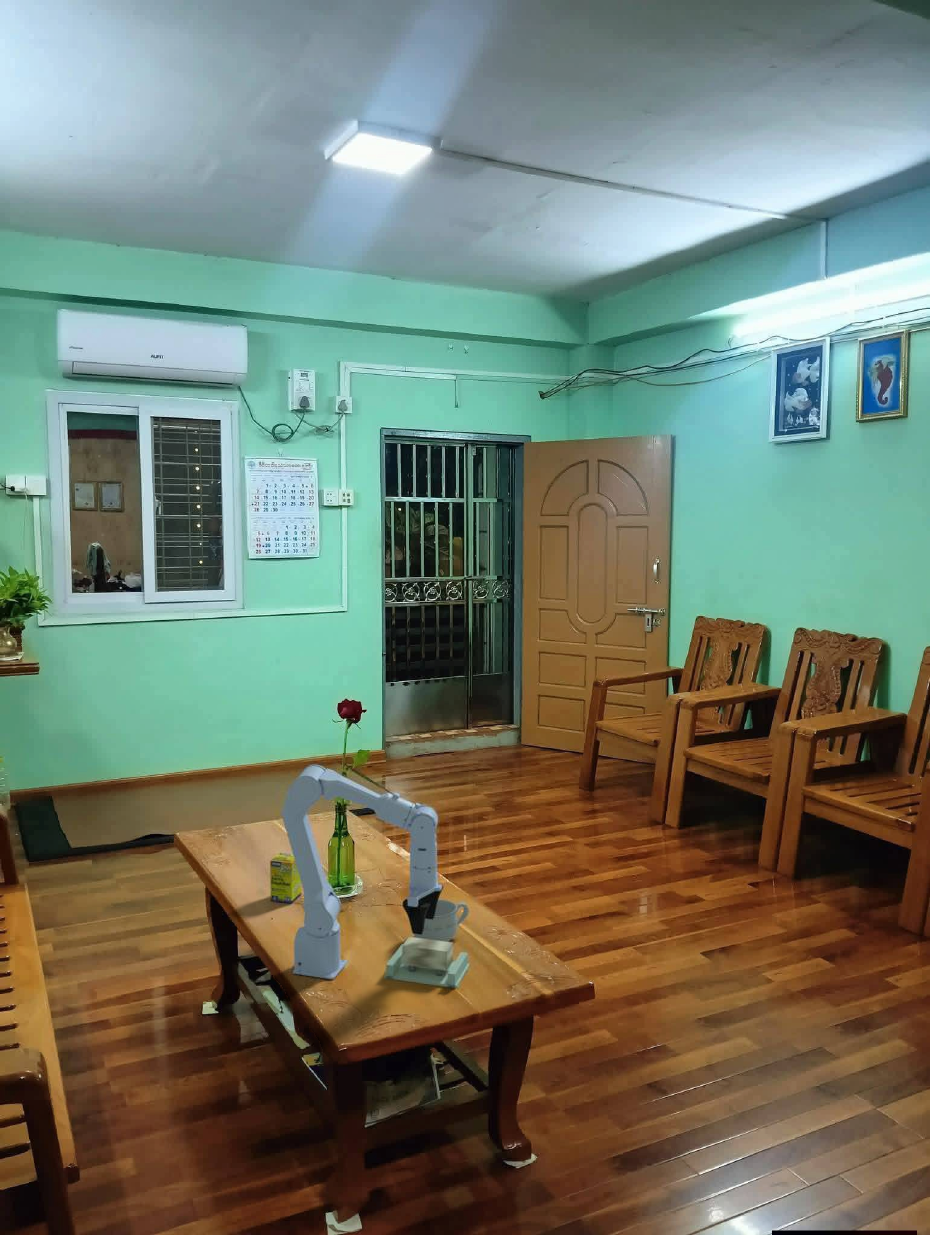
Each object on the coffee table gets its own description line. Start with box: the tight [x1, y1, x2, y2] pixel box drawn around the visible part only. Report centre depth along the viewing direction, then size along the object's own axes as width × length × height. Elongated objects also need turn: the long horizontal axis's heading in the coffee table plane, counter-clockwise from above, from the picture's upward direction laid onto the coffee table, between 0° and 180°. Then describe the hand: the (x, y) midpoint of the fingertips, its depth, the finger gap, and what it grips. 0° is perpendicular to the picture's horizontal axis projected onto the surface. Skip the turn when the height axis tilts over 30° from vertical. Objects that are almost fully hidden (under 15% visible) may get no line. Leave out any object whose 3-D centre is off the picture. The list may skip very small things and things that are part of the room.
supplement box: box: [269, 852, 302, 905], centre depth 239 cm, size 6×6×11 cm
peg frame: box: [383, 943, 471, 989], centre depth 201 cm, size 16×10×3 cm, turn 74°
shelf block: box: [401, 936, 454, 971], centre depth 201 cm, size 10×4×4 cm, turn 74°
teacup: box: [413, 898, 470, 942], centre depth 217 cm, size 14×11×8 cm
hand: (423, 925), depth 200 cm, fingers open, 7 cm apart
